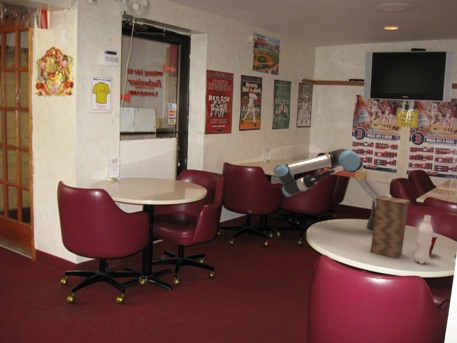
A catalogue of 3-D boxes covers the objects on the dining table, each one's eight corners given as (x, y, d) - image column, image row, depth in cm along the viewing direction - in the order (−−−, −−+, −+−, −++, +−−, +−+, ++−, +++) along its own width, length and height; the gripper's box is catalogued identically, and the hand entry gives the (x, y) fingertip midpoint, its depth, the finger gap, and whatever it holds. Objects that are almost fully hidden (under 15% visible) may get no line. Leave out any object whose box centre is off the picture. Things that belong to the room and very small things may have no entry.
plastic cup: (431, 252, 256) (434, 231, 254) (438, 259, 245) (441, 237, 243) (411, 250, 257) (414, 229, 255) (417, 256, 246) (420, 235, 244)
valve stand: (369, 252, 248) (375, 198, 244) (375, 247, 257) (381, 195, 253) (397, 259, 240) (404, 203, 235) (402, 254, 249) (409, 200, 244)
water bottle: (419, 264, 233) (425, 217, 229) (410, 260, 240) (417, 213, 236) (431, 264, 235) (438, 217, 231) (423, 260, 242) (429, 214, 238)
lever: (322, 173, 262) (323, 166, 262) (325, 172, 267) (326, 165, 266) (363, 179, 249) (364, 172, 249) (366, 178, 253) (367, 171, 253)
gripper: (314, 187, 278) (348, 172, 265) (302, 190, 264) (338, 175, 251) (309, 175, 279) (343, 160, 266) (297, 178, 265) (333, 162, 252)
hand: (341, 168), depth 259 cm, fingers closed on lever, 3 cm apart
